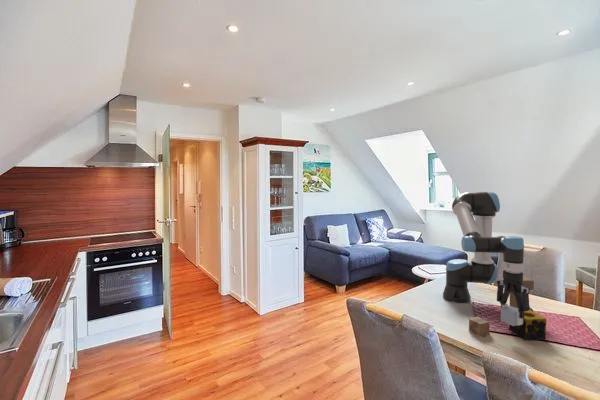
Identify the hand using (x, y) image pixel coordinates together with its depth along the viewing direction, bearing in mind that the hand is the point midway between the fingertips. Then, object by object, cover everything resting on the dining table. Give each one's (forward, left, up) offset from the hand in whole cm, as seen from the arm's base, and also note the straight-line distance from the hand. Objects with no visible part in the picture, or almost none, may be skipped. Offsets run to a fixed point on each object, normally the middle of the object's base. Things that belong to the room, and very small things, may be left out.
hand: (512, 321), depth 141 cm
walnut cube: (-10, -8, -8) cm, 15 cm away
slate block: (0, 0, 0) cm, 0 cm away
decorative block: (-16, +29, -8) cm, 34 cm away
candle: (0, +10, -9) cm, 13 cm away
